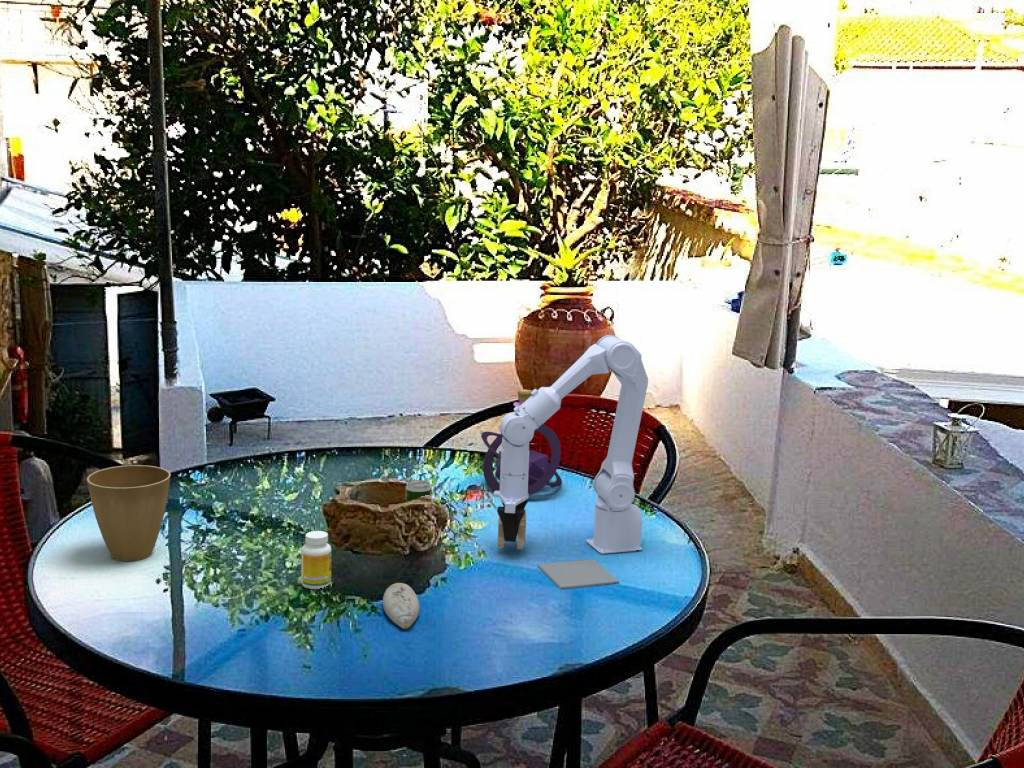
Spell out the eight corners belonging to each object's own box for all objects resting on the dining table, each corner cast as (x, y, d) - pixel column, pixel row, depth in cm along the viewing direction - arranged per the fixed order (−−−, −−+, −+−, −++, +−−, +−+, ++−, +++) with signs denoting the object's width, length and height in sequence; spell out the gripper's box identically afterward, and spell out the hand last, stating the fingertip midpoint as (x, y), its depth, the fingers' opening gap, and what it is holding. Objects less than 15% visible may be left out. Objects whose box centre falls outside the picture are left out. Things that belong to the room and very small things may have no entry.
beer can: (411, 544, 204) (413, 488, 202) (399, 536, 209) (401, 481, 207) (434, 540, 207) (436, 485, 205) (422, 532, 212) (423, 478, 210)
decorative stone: (388, 634, 163) (389, 615, 162) (378, 597, 178) (378, 579, 177) (425, 632, 164) (426, 612, 164) (412, 595, 179) (412, 577, 178)
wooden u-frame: (500, 539, 206) (501, 510, 205) (525, 540, 206) (526, 512, 205) (497, 547, 201) (498, 518, 200) (523, 549, 201) (524, 519, 200)
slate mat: (593, 561, 199) (593, 559, 199) (619, 583, 188) (619, 581, 188) (537, 566, 195) (537, 564, 195) (560, 589, 184) (560, 587, 184)
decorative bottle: (459, 488, 245) (462, 389, 240) (507, 472, 262) (511, 378, 258) (534, 507, 233) (539, 403, 228) (580, 488, 250) (586, 391, 245)
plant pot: (76, 553, 192) (73, 473, 189) (149, 536, 202) (147, 461, 200) (112, 575, 182) (109, 491, 179) (186, 556, 193) (185, 477, 190)
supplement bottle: (298, 581, 183) (298, 531, 181) (326, 577, 185) (327, 528, 183) (305, 591, 178) (305, 540, 176) (334, 587, 180) (335, 537, 179)
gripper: (498, 461, 208) (496, 523, 211) (490, 480, 194) (488, 547, 196) (532, 464, 208) (529, 526, 210) (526, 483, 193) (523, 549, 196)
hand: (511, 536), depth 203 cm, fingers closed on wooden u-frame, 5 cm apart
